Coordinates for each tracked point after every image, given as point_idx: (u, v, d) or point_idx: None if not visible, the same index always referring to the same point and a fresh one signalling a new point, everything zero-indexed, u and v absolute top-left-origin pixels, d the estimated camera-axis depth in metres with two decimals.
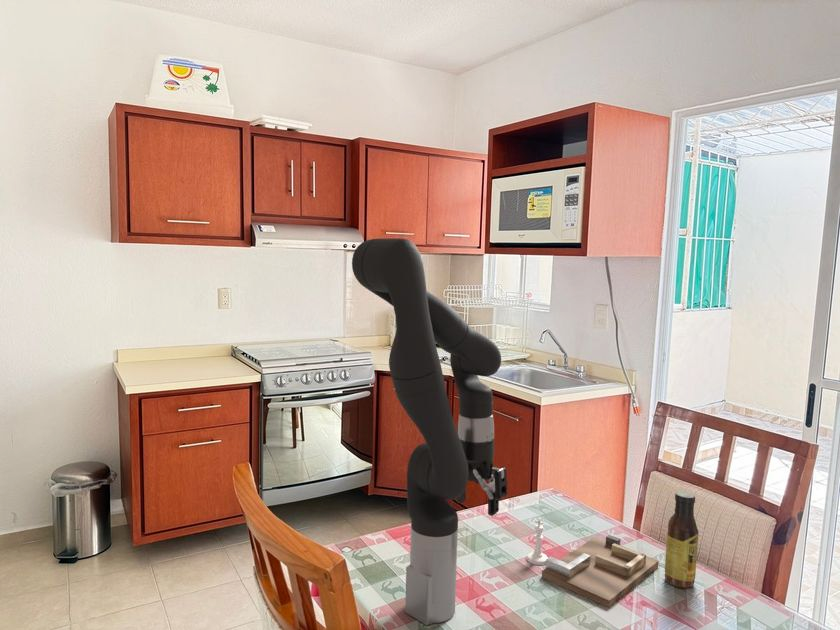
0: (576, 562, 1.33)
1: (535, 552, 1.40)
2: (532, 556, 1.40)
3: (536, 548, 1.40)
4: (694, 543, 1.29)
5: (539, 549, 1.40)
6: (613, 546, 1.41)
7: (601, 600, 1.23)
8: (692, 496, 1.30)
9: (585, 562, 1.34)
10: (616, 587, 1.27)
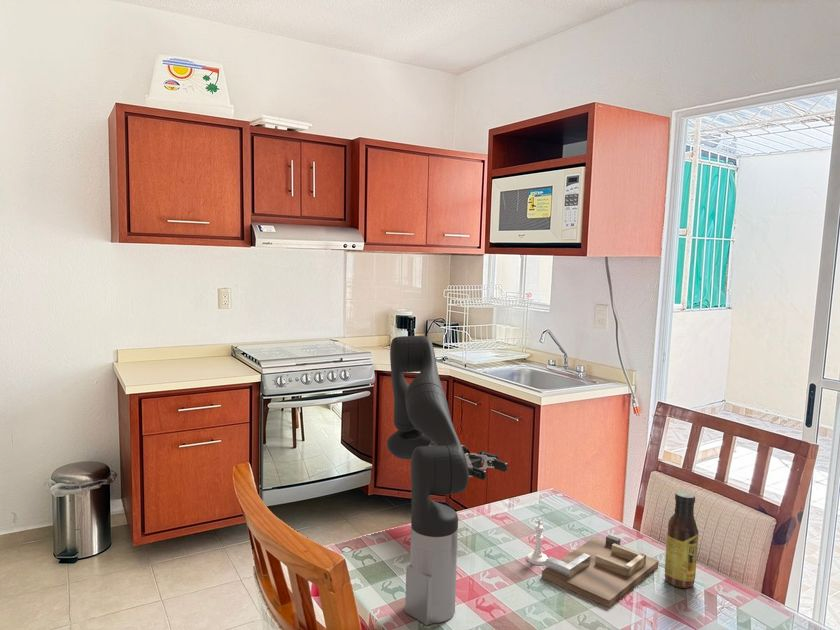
0: (576, 562, 1.33)
1: (535, 552, 1.40)
2: (532, 556, 1.40)
3: (536, 548, 1.40)
4: (694, 543, 1.29)
5: (539, 549, 1.40)
6: (613, 546, 1.41)
7: (601, 600, 1.23)
8: (692, 496, 1.30)
9: (585, 562, 1.34)
10: (616, 587, 1.27)
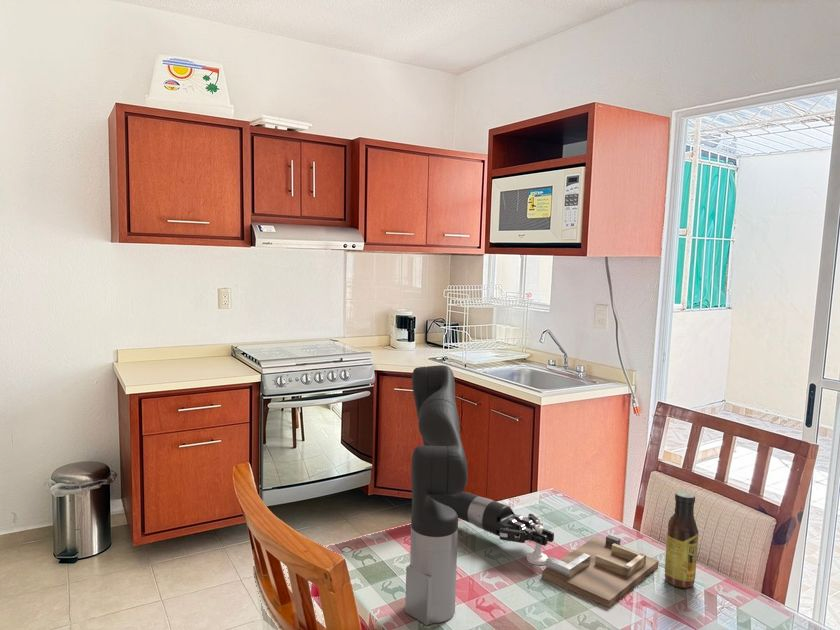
0: (576, 562, 1.33)
1: (535, 552, 1.40)
2: (532, 555, 1.40)
3: (536, 548, 1.40)
4: (694, 543, 1.29)
5: (539, 549, 1.40)
6: (613, 546, 1.41)
7: (601, 600, 1.23)
8: (692, 496, 1.30)
9: (585, 562, 1.34)
10: (616, 587, 1.27)
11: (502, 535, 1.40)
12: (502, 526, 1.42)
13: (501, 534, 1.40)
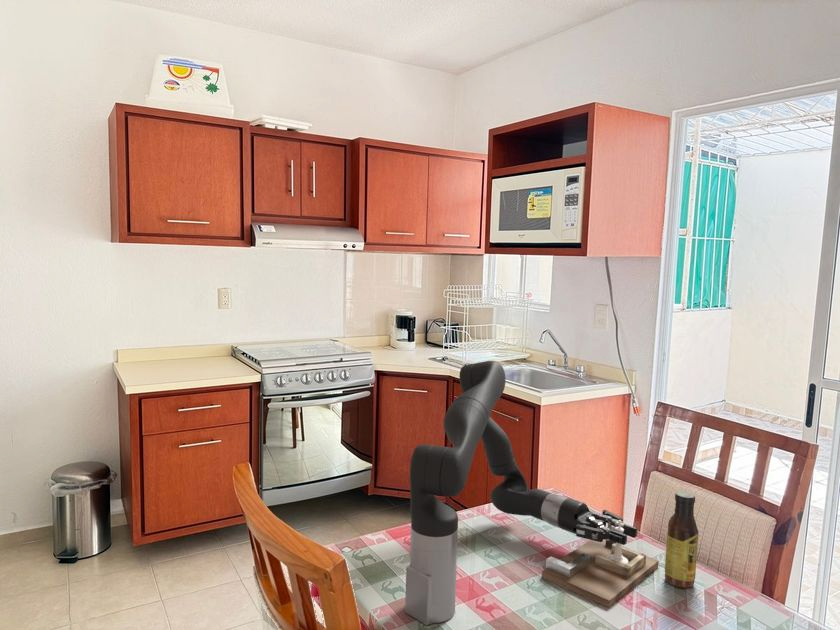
0: (576, 562, 1.33)
1: (615, 555, 1.37)
2: (612, 558, 1.37)
3: (616, 550, 1.37)
4: (694, 543, 1.29)
5: (620, 551, 1.36)
6: (613, 546, 1.41)
7: (601, 600, 1.23)
8: (692, 496, 1.30)
9: (585, 562, 1.34)
10: (616, 587, 1.27)
11: (579, 532, 1.36)
12: (580, 523, 1.39)
13: (578, 531, 1.36)
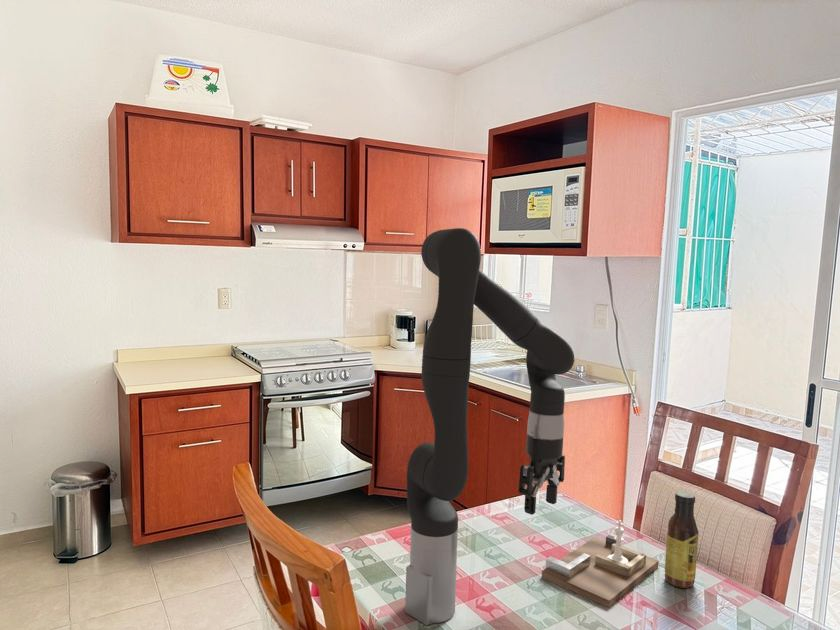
0: (576, 562, 1.33)
1: (615, 555, 1.37)
2: (612, 558, 1.37)
3: (616, 550, 1.36)
4: (694, 543, 1.29)
5: (620, 551, 1.36)
6: (613, 546, 1.41)
7: (601, 600, 1.23)
8: (692, 496, 1.30)
9: (585, 562, 1.34)
10: (616, 587, 1.27)
11: None
12: None
13: None
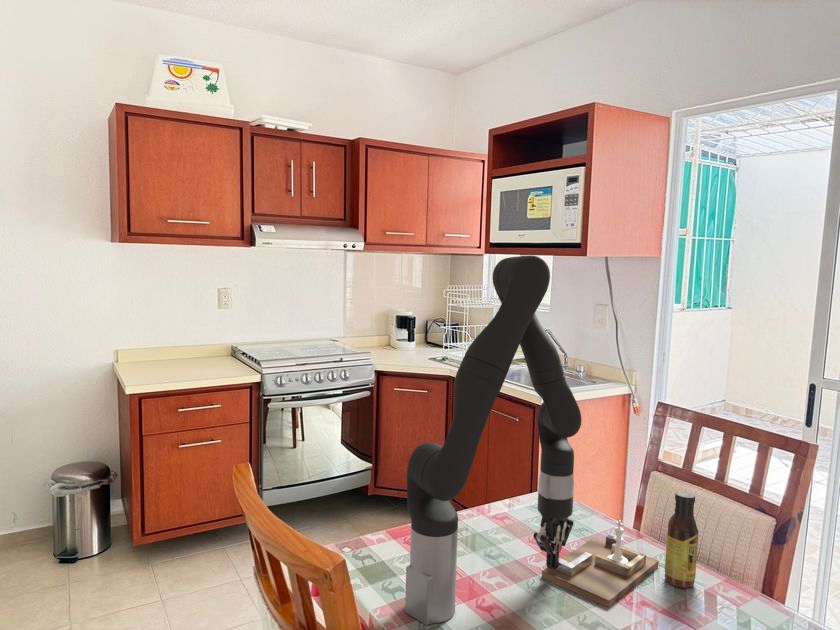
0: (578, 560, 1.33)
1: (615, 555, 1.37)
2: (612, 558, 1.37)
3: (616, 550, 1.37)
4: (694, 543, 1.29)
5: (620, 551, 1.36)
6: (613, 546, 1.41)
7: (601, 600, 1.23)
8: (692, 496, 1.30)
9: (587, 561, 1.35)
10: (616, 587, 1.27)
11: None
12: None
13: None
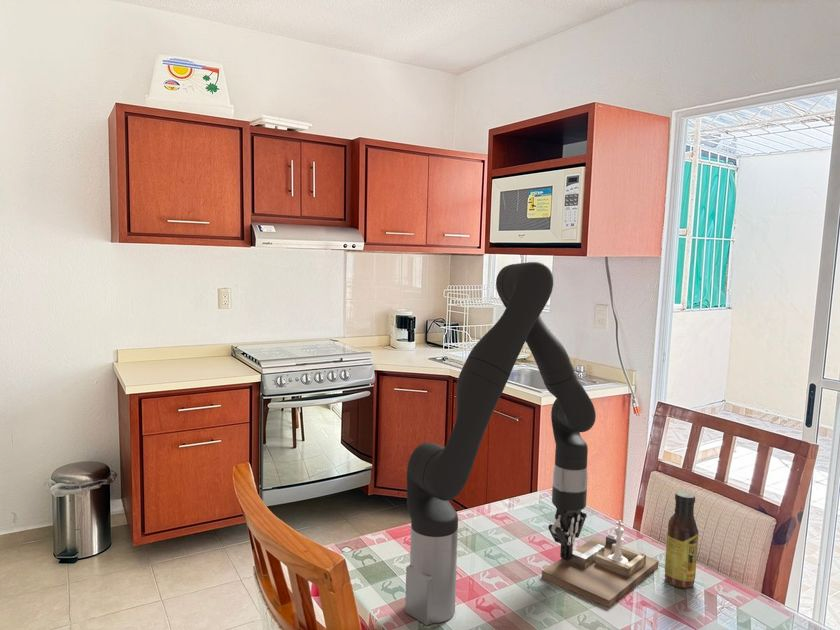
0: (591, 552, 1.37)
1: (615, 555, 1.37)
2: (612, 558, 1.37)
3: (616, 550, 1.36)
4: (694, 543, 1.29)
5: (620, 551, 1.36)
6: (613, 546, 1.41)
7: (601, 600, 1.23)
8: (692, 496, 1.30)
9: (600, 553, 1.39)
10: (616, 587, 1.27)
11: None
12: None
13: None
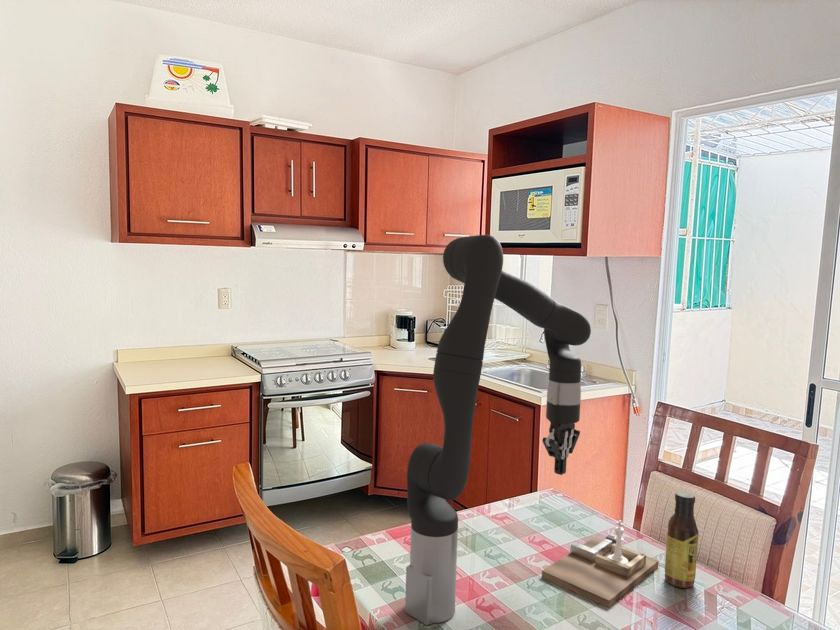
0: (599, 546, 1.40)
1: (615, 555, 1.37)
2: (612, 558, 1.37)
3: (616, 550, 1.36)
4: (694, 543, 1.29)
5: (620, 551, 1.36)
6: (613, 546, 1.41)
7: (601, 600, 1.23)
8: (692, 496, 1.30)
9: (608, 547, 1.42)
10: (616, 587, 1.27)
11: None
12: None
13: None
